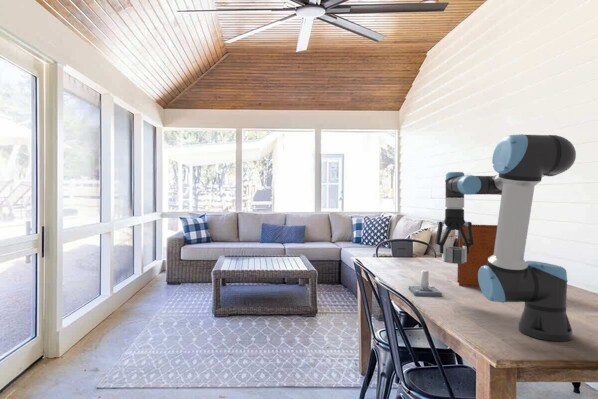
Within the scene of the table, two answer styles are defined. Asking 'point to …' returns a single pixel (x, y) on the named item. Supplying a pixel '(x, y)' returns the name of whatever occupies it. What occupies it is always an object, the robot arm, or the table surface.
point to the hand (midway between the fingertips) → (454, 261)
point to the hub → (455, 255)
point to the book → (476, 253)
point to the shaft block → (424, 287)
